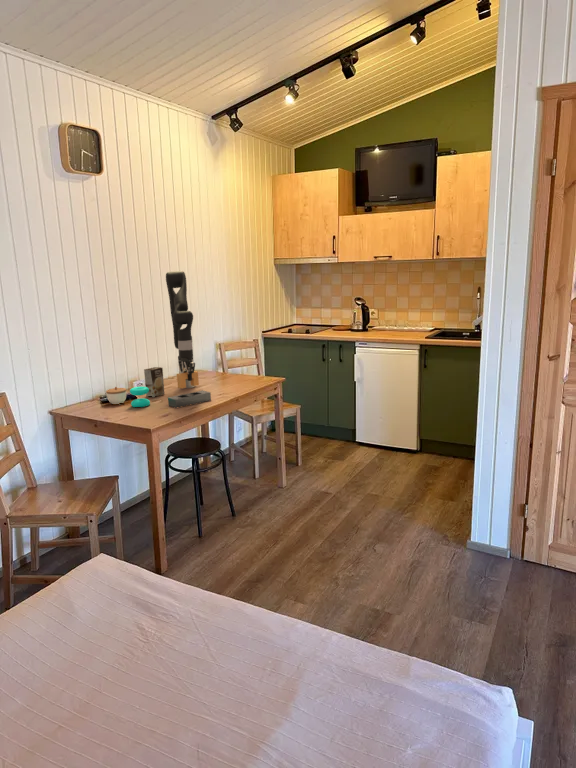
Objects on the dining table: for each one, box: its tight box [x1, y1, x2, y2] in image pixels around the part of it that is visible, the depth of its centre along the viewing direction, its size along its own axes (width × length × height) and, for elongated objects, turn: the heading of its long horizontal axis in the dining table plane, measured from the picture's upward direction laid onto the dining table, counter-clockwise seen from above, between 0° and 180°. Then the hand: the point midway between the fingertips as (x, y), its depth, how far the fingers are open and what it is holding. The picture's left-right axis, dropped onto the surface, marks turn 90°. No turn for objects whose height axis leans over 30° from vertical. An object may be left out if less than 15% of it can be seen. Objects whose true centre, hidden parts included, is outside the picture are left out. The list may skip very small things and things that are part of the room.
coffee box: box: [143, 366, 165, 398], centre depth 315 cm, size 9×6×16 cm
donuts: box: [129, 385, 151, 408], centre depth 291 cm, size 10×10×10 cm
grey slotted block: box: [167, 389, 212, 409], centre depth 294 cm, size 8×22×4 cm, turn 132°
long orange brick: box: [176, 370, 200, 389], centre depth 291 cm, size 4×11×8 cm, turn 132°
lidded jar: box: [105, 386, 127, 405], centre depth 299 cm, size 11×11×9 cm
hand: (188, 380), depth 291 cm, fingers closed on long orange brick, 3 cm apart
